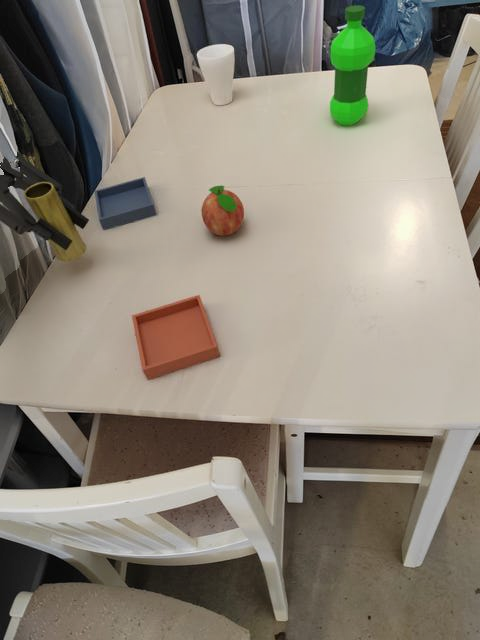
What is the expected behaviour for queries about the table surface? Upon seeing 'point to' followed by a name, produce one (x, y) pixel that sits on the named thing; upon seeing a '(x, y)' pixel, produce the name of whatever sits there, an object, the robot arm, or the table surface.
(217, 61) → the cup
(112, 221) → the slate tray
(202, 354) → the terracotta tray
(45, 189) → the vase
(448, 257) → the table surface
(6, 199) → the robot arm
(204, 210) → the fruit
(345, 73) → the plastic bottle
